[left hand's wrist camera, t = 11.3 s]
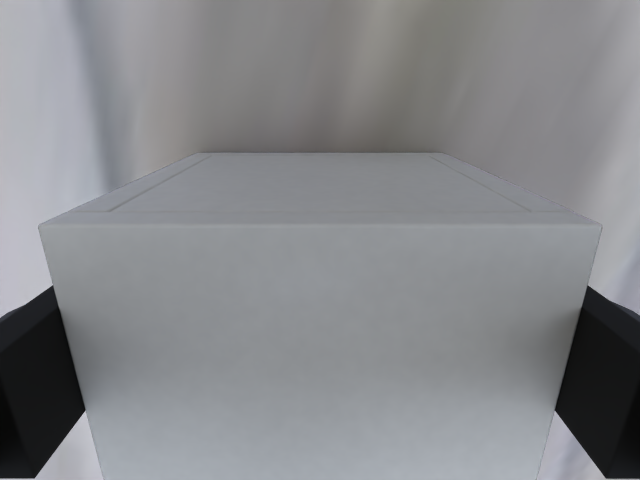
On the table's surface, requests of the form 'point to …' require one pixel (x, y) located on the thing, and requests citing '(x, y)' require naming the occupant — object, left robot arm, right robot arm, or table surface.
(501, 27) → the table surface
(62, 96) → the table surface
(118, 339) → the grey box
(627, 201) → the table surface
